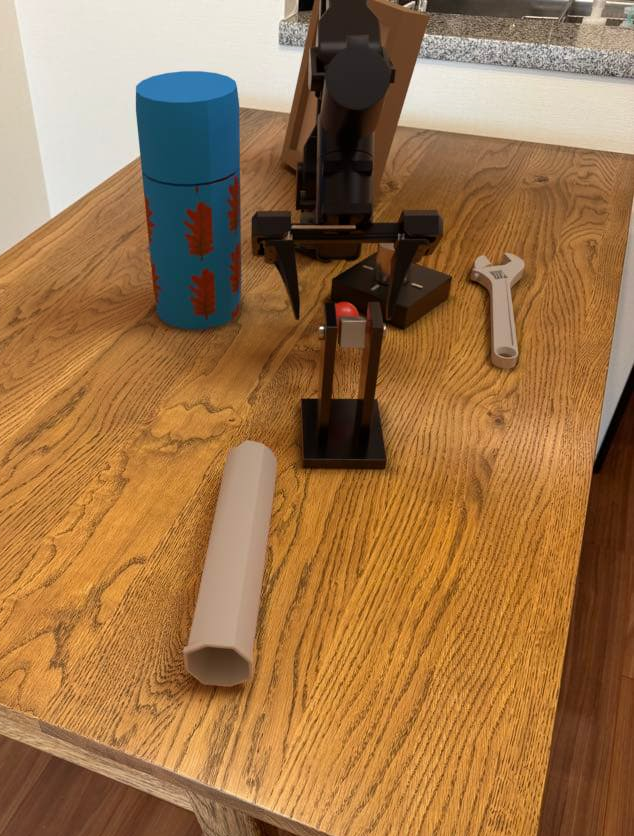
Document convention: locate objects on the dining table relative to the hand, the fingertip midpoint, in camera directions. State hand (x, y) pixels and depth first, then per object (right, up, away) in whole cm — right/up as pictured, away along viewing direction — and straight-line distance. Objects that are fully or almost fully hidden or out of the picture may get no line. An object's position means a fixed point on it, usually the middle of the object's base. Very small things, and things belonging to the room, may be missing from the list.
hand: (342, 319), depth 79 cm
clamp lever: (0, -3, -3) cm, 5 cm away
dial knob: (+9, +10, +17) cm, 22 cm away
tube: (-11, -25, -11) cm, 29 cm away
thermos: (-15, +7, +19) cm, 25 cm away
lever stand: (0, -12, 0) cm, 12 cm away
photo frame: (+8, +35, +46) cm, 59 cm away
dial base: (+9, +8, +19) cm, 23 cm away
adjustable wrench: (+21, +6, +17) cm, 28 cm away
